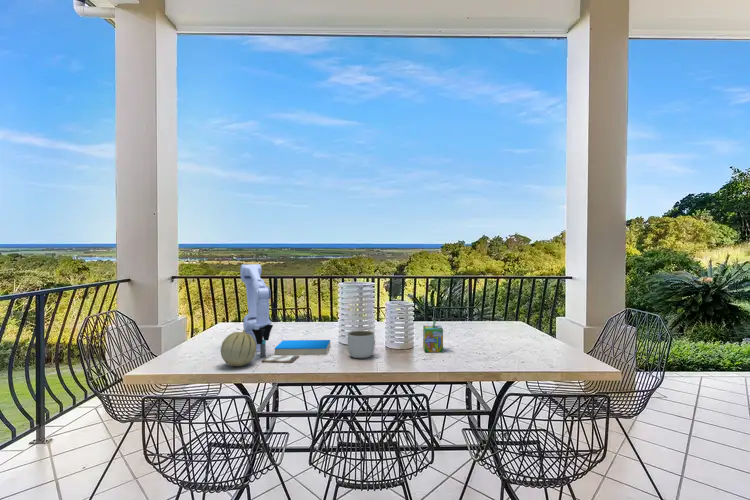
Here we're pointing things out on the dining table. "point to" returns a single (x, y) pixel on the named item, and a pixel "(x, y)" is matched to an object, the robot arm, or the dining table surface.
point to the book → (302, 347)
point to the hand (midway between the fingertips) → (262, 342)
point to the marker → (263, 349)
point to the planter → (361, 344)
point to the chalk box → (433, 338)
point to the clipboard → (280, 359)
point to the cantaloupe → (238, 348)
